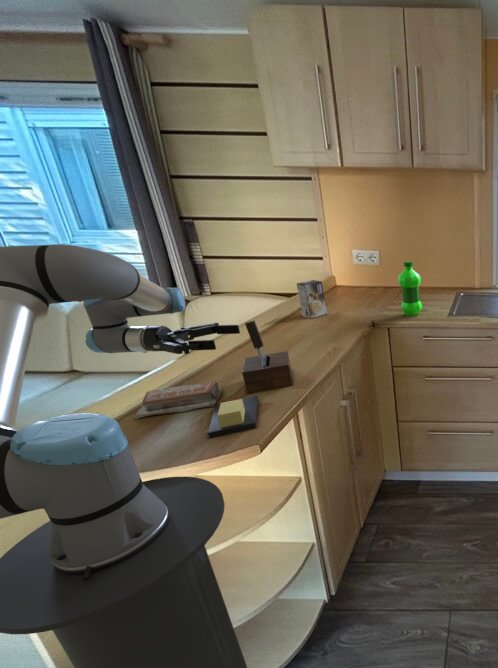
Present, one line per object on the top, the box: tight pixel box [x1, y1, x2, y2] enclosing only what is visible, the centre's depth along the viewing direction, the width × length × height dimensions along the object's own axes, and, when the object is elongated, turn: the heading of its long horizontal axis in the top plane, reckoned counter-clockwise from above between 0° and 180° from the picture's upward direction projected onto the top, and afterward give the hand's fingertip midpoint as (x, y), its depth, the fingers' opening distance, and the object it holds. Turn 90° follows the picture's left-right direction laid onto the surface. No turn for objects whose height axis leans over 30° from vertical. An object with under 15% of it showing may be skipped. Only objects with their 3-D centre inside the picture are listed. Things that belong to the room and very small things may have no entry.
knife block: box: [241, 351, 294, 394], centre depth 126 cm, size 12×12×7 cm
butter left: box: [217, 400, 232, 428], centre depth 103 cm, size 7×2×4 cm, turn 27°
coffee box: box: [296, 279, 328, 319], centre depth 190 cm, size 9×6×16 cm
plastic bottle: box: [397, 260, 423, 317], centre depth 191 cm, size 10×10×25 cm
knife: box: [244, 320, 270, 367], centre depth 124 cm, size 8×2×19 cm, turn 26°
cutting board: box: [207, 395, 259, 439], centre depth 107 cm, size 16×10×2 cm, turn 27°
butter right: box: [229, 398, 245, 425], centre depth 104 cm, size 7×2×4 cm, turn 27°
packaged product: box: [134, 381, 223, 419], centre depth 113 cm, size 18×5×10 cm
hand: (227, 336), depth 121 cm, fingers open, 13 cm apart
